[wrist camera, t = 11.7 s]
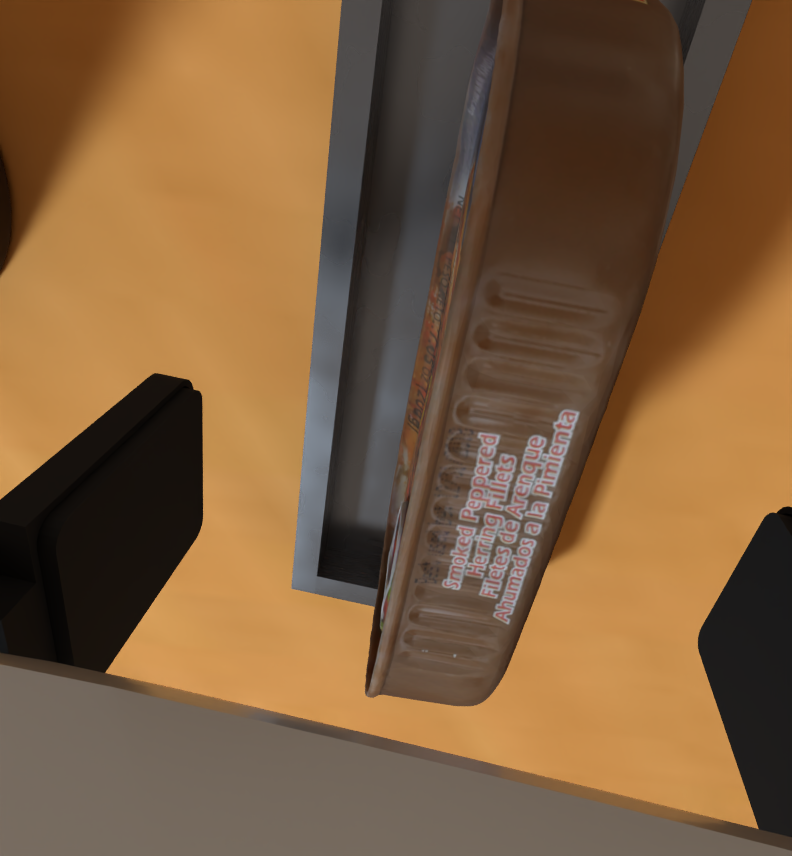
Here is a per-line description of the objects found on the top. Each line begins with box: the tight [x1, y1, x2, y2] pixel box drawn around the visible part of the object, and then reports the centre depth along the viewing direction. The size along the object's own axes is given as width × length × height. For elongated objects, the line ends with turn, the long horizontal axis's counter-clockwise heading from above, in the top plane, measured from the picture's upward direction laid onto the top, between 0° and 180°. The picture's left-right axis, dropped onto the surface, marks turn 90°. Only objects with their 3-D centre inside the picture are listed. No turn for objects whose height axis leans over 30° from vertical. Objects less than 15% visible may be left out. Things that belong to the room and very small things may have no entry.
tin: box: [365, 0, 684, 706], centre depth 13 cm, size 15×3×8 cm, turn 171°
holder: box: [292, 0, 752, 607], centre depth 17 cm, size 8×20×2 cm, turn 171°
